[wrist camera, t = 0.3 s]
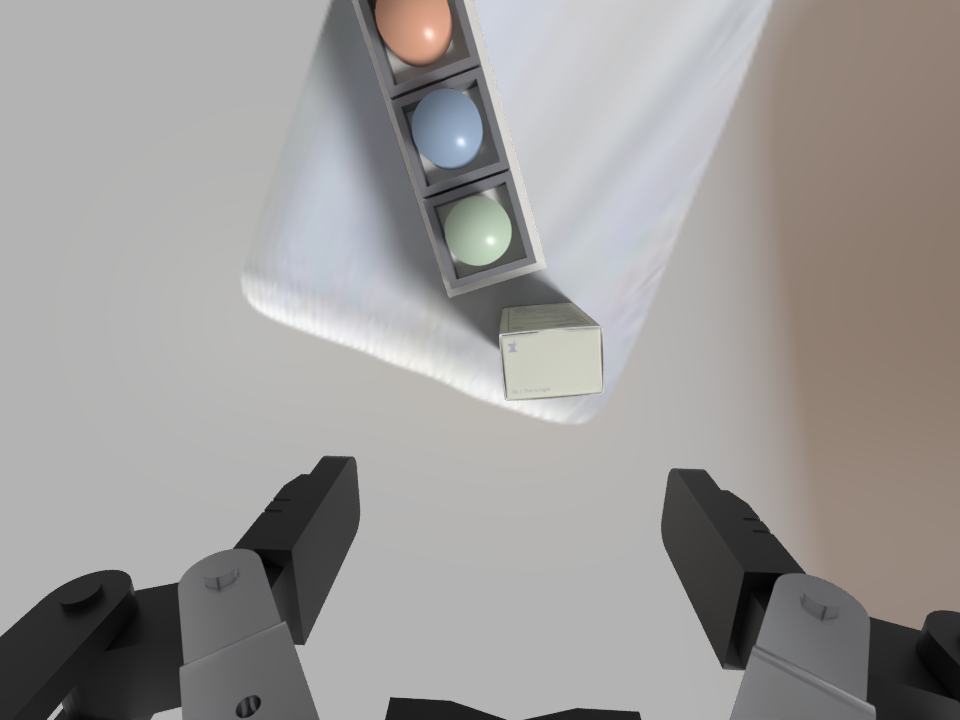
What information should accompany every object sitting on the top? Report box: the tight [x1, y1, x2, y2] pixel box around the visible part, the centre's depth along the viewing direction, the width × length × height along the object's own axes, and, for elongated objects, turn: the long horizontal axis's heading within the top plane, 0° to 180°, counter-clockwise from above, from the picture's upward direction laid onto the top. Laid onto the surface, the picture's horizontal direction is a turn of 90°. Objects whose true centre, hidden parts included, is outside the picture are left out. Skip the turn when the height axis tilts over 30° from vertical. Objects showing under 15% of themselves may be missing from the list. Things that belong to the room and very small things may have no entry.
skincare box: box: [499, 303, 604, 401], centre depth 33 cm, size 6×4×12 cm
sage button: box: [445, 196, 512, 266], centre depth 29 cm, size 4×4×2 cm
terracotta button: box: [375, 0, 453, 67], centre depth 26 cm, size 4×4×2 cm
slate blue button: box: [412, 89, 484, 170], centre depth 27 cm, size 4×4×2 cm
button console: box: [352, 0, 547, 298], centre depth 32 cm, size 19×7×8 cm, turn 17°
